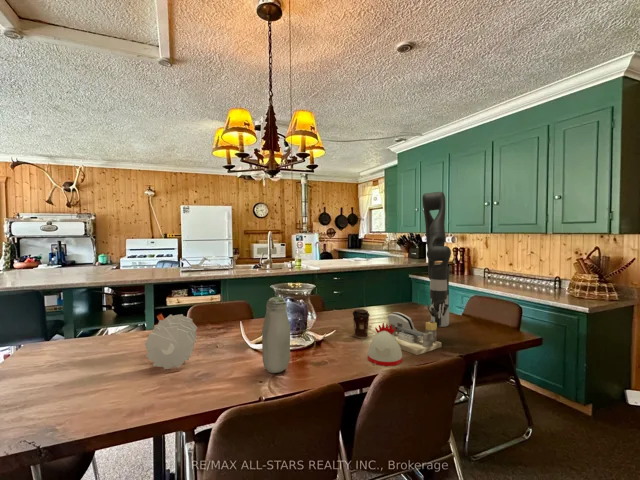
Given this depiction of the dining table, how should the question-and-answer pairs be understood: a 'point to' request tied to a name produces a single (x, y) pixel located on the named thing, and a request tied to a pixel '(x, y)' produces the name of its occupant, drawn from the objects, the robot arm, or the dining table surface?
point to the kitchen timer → (385, 348)
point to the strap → (410, 330)
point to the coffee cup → (361, 323)
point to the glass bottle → (276, 336)
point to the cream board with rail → (416, 341)
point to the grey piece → (400, 320)
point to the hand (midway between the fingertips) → (438, 325)
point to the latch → (431, 325)
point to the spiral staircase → (171, 341)
